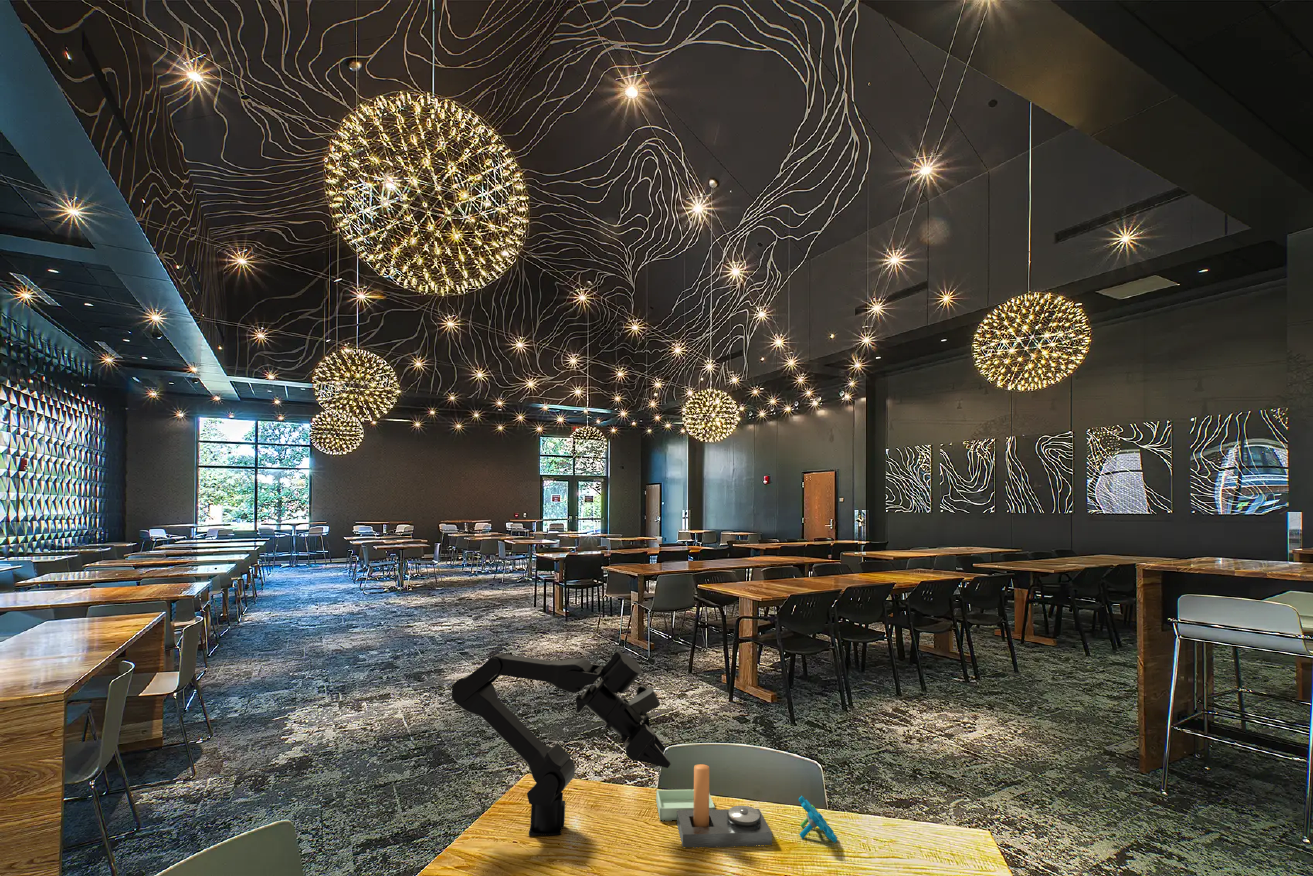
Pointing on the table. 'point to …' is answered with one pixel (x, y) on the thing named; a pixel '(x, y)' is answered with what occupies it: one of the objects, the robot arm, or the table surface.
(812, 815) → the gear
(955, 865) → the table surface
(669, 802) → the tray
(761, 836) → the plate
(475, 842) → the table surface
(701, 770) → the pin
